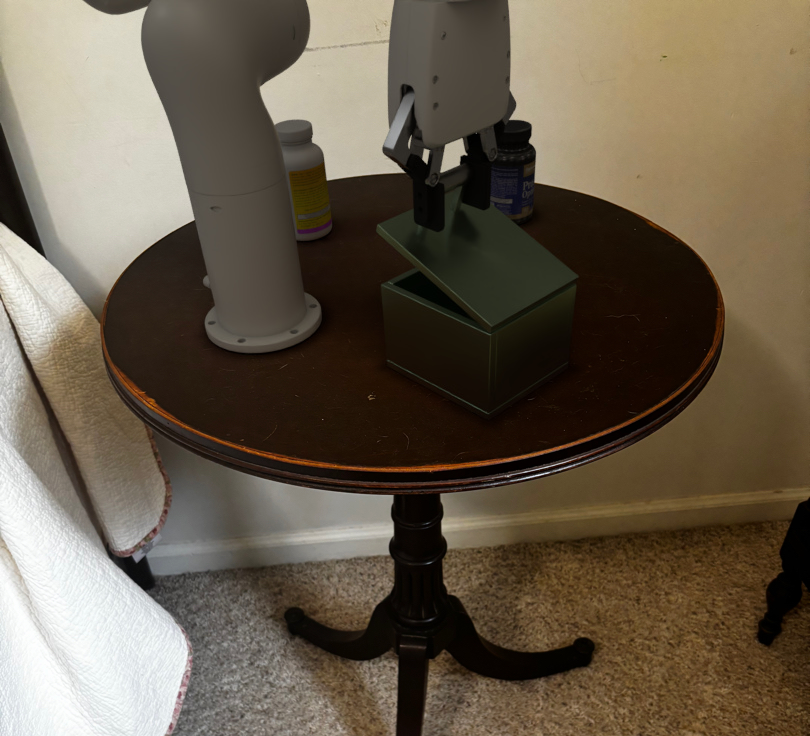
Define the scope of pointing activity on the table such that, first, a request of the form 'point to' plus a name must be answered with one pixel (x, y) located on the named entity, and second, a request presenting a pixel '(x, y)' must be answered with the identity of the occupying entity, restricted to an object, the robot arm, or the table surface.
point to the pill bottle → (514, 172)
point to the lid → (479, 257)
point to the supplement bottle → (305, 180)
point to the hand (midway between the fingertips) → (452, 214)
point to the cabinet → (473, 345)
